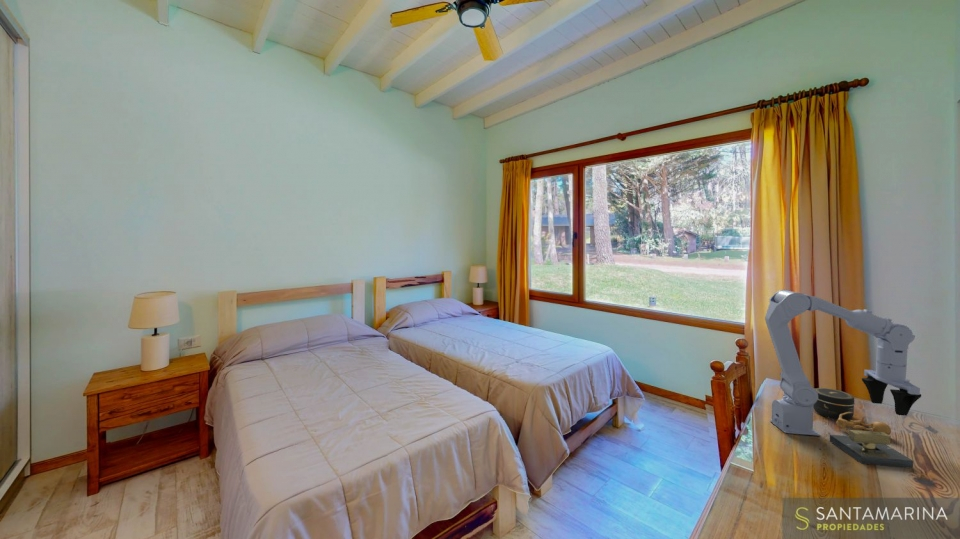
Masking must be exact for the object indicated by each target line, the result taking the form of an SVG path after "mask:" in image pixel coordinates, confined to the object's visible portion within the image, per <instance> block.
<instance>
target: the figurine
mask: <svg viewBox="0 0 960 539" xmlns="http://www.w3.org/2000/svg"><path fill="white" fill-rule="evenodd" d="M848 413H853V412H846V413H843V414H840V415H839V418H838V420H835V421H836V422H835V423H836V425H837V426H838V427H840V428H841V429H843V430H844V432H846V433H847V434H848V435H849V429H847V427H849V428H850V427H852V428H853V429H852V430H862V429H863V431H872V432H884V433H886V434H888V435H889V436H890V435H891V433H892V428H891V427H890V425H888V424H887V423H885V422H883V421H873V422H872V423H865V422H864V421H863V420H860V419H859V420H858V419H857V420H853V419H850V420H848V421H847V420H844V419H842V415H845V414H848ZM860 424H861V425H860ZM867 426H868V428H867ZM869 427H870V428H869Z"/></svg>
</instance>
